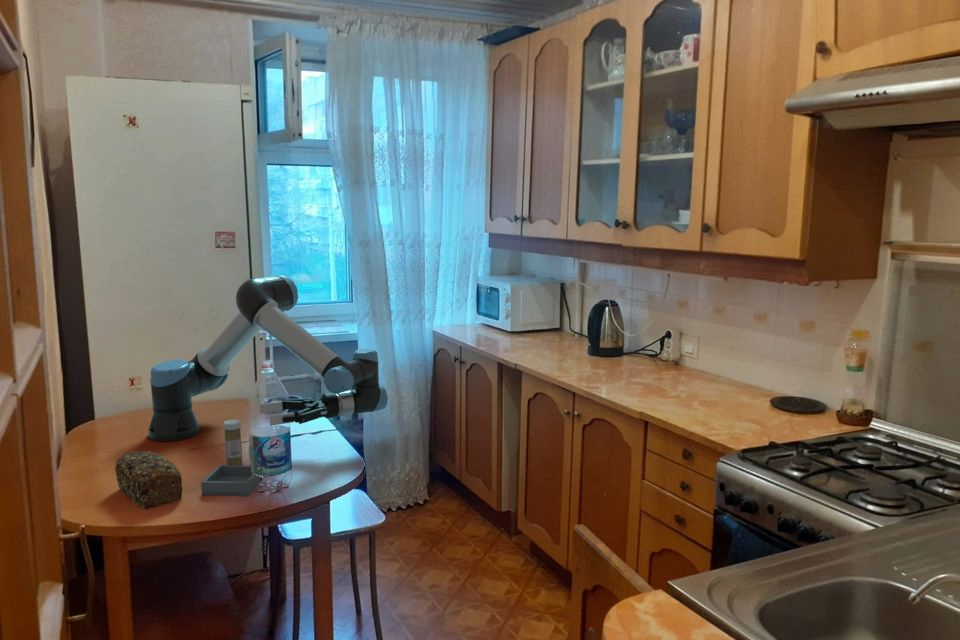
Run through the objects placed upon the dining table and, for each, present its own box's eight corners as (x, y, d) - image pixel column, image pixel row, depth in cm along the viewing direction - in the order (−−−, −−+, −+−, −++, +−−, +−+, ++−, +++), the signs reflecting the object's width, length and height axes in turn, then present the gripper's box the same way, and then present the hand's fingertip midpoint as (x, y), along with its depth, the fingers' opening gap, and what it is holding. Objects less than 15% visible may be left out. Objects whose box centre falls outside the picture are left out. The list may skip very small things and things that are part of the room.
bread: (116, 490, 183) (112, 453, 182) (158, 479, 191) (155, 444, 189) (141, 512, 170) (138, 473, 168) (185, 499, 177) (182, 462, 176)
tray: (201, 495, 180) (201, 482, 179) (220, 477, 192) (219, 465, 191) (248, 495, 180) (247, 482, 179) (263, 477, 191) (263, 465, 191)
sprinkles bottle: (243, 463, 202) (241, 418, 200) (242, 468, 198) (239, 423, 196) (226, 464, 201) (224, 419, 199) (225, 470, 197) (222, 424, 195)
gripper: (350, 427, 201) (275, 439, 191) (325, 406, 223) (256, 416, 213) (349, 401, 200) (273, 412, 190) (324, 383, 222) (255, 392, 212)
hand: (264, 414), depth 201 cm, fingers open, 13 cm apart
